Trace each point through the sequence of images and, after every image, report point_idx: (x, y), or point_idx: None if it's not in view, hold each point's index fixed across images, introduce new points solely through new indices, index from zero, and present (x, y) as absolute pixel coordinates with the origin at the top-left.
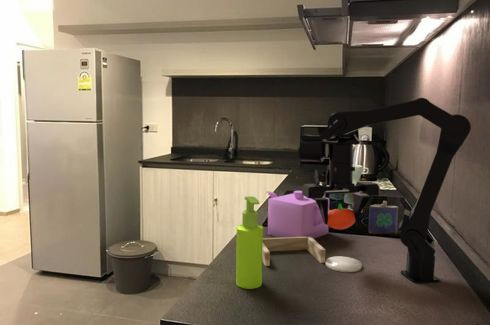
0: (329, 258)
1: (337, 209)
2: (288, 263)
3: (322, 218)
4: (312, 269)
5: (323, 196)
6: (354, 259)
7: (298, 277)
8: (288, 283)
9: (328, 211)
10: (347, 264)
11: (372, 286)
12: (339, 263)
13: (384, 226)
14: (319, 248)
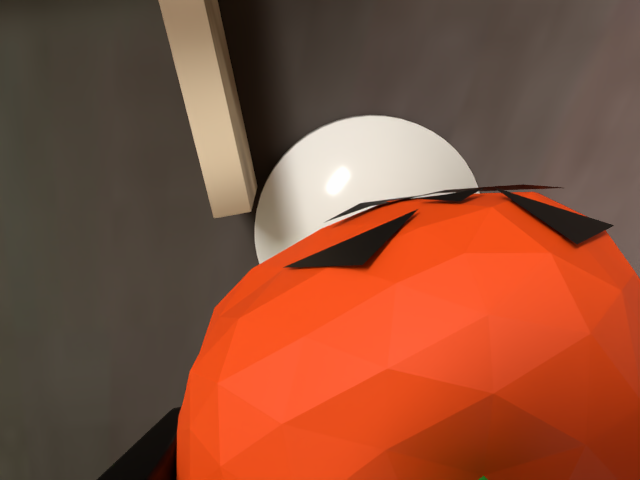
0: (292, 163)
1: (439, 446)
2: (5, 204)
3: (126, 456)
4: (164, 295)
5: None
6: (462, 177)
7: (80, 401)
8: (32, 466)
9: (220, 471)
10: None
11: None
12: None
13: None
14: (205, 181)
